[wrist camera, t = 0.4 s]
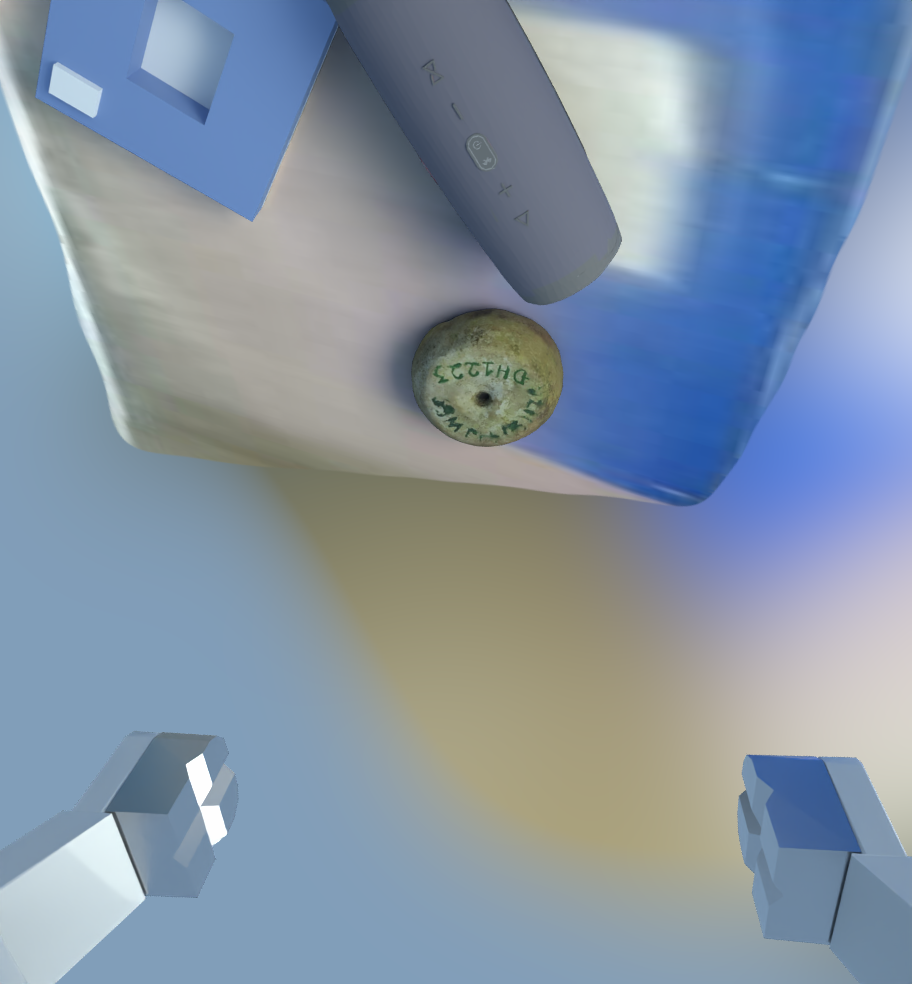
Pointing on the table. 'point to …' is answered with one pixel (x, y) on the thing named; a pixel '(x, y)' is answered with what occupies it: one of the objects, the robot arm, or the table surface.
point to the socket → (190, 83)
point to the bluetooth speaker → (489, 135)
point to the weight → (487, 377)
